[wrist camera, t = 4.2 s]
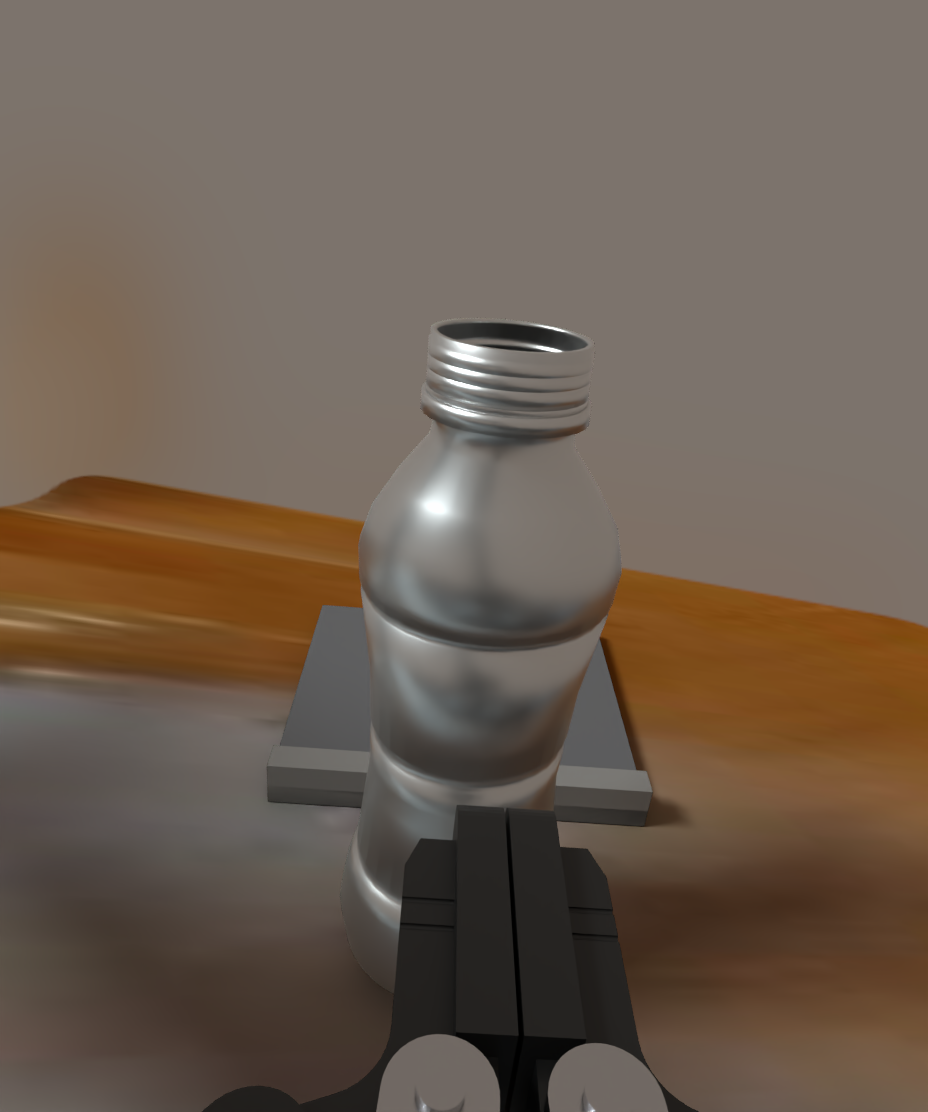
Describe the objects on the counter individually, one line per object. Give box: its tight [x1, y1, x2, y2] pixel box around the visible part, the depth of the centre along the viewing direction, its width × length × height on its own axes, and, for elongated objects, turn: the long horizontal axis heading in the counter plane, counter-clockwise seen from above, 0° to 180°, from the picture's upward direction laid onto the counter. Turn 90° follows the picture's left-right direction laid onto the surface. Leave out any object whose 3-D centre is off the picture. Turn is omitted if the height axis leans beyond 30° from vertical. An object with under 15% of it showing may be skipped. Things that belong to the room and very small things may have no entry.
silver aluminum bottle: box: [340, 318, 621, 994], centre depth 22 cm, size 6×7×20 cm
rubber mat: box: [267, 605, 653, 826], centre depth 38 cm, size 15×14×2 cm
